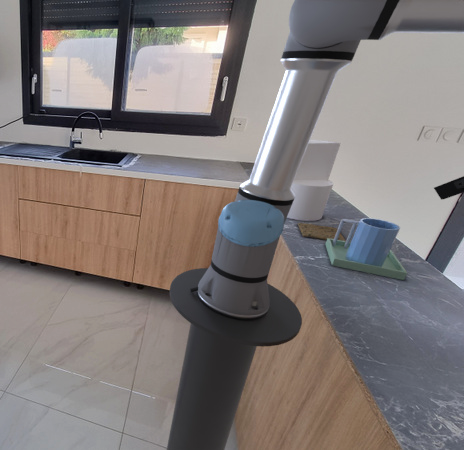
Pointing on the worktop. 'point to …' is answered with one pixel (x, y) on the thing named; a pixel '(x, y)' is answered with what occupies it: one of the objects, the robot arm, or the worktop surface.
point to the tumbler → (372, 241)
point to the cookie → (319, 231)
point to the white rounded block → (313, 181)
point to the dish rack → (338, 258)
